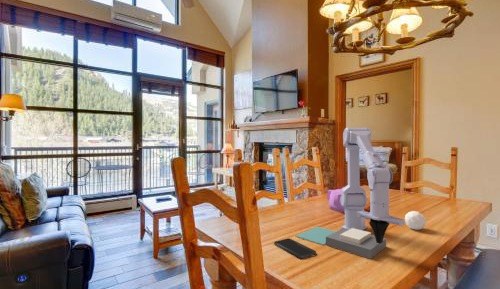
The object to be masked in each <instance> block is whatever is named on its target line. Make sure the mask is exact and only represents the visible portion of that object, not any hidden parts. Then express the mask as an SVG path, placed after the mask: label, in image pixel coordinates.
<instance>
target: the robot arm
mask: <svg viewBox="0 0 500 289" xmlns="http://www.w3.org/2000/svg"><path fill="white" fill-rule="evenodd" d="M371 139H372V131H371V129H370V127H345V128H344V130H343V133H342V143H343V147H344V148H346V152H347V154H346V155H347V185H345V186H343V187H344V188H343V189H342V188H341V189H342V190H341V197H340V200H341V205H342V206H343V207H345V212H344V225H342V226H340V228H341V229H343V228H346V229H351V228H354V229H358V230H363V231H365V230H366V229H367V228H368V227H369V226H370V227H371V229H372V232H373V235H374V236H375V238H376V242H377V243H382V242H383V238H385V237H384V236H385V235H386V231H387V230H388V228H389V226H390V224H391V225H396V226H400V227H403V226H404V225H405V218H399V217H396V216H393V215H390V184H392V182H393V177H394V175H393V172H392V169H391V167H390V166H388V165H387V164H386V165H385V164H384V162H383V160H382V158H381V156H380V154H379V152H377V151H374V148H373V145H372V142H371ZM360 151H361V152H362V154H363V156H362V161H363V164H364V166H365V168H366V170H367V174H366V177H367V181H368V188H369V190H370V192H369V196H370V197H369V200H370V202H369V204H370V205H369V206H370V207H369V211H366V210H365V207H367V204H368V198H367V192H366V190H365V189H364V188H363V187H362V186H361V183H360V182H361V181H360V180H361V179H360V177H361V175H360V173H361V172H360V171H361V170H360ZM350 192H358V193H350ZM367 219H368V220H369V222H368V224H369V226H367V225H366V220H367Z"/></svg>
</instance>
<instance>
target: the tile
mask: <svg viewBox="0 0 500 289" xmlns="http://www.w3.org/2000/svg"><path fill="white" fill-rule="evenodd" d="M371 235H372V232H370V231H366V230H358V229H354V228H351V229H350V230H348V231H346V232H344V233H342V234H340V239H343V240H346V241H350V242H353V243H357V244H360V243H362V242H363V241H365V240H366V239H368V238H370V237H371Z"/></svg>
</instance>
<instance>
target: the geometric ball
mask: <svg viewBox="0 0 500 289" xmlns="http://www.w3.org/2000/svg"><path fill="white" fill-rule="evenodd" d="M404 216H405V217H404V223H405V225H406V226H407V227H409V228H410V229H411V230H414V231H419V230H422V229H424V228H425V227H426V225H427V224H426V223H427V220H426V217H425V215H423V214H422V213H421V212H419V211H417V210H416V211H415V210H412V211H409V212H407V213H406V214H405V215H404Z"/></svg>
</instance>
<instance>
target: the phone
mask: <svg viewBox="0 0 500 289" xmlns="http://www.w3.org/2000/svg"><path fill="white" fill-rule="evenodd" d="M274 246H276V247H277V248H279V249H281V250H282V251H285V252H286V253H288V254H289V255H291V256H293V257H295V258H296V259H299V260H304V259H307V258H310V257H314V256H317V251H316V250H314V249H312V248H310V247H308V246H307V245H304V244H303V243H300V242H298V241H296V240H294V239H292V238H290V237H289V238H285V239H284V238H282V239H279V240H276V241H274Z"/></svg>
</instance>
